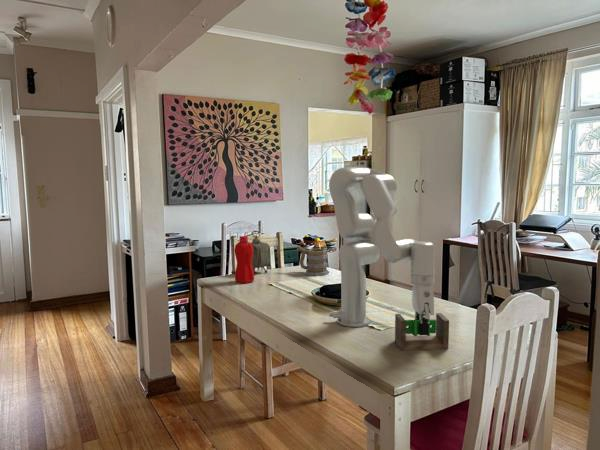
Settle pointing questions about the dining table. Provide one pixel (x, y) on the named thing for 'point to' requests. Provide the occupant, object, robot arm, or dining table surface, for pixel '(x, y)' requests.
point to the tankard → (314, 261)
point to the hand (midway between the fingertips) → (421, 331)
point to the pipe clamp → (414, 326)
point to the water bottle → (244, 261)
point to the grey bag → (260, 253)
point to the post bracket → (422, 341)
